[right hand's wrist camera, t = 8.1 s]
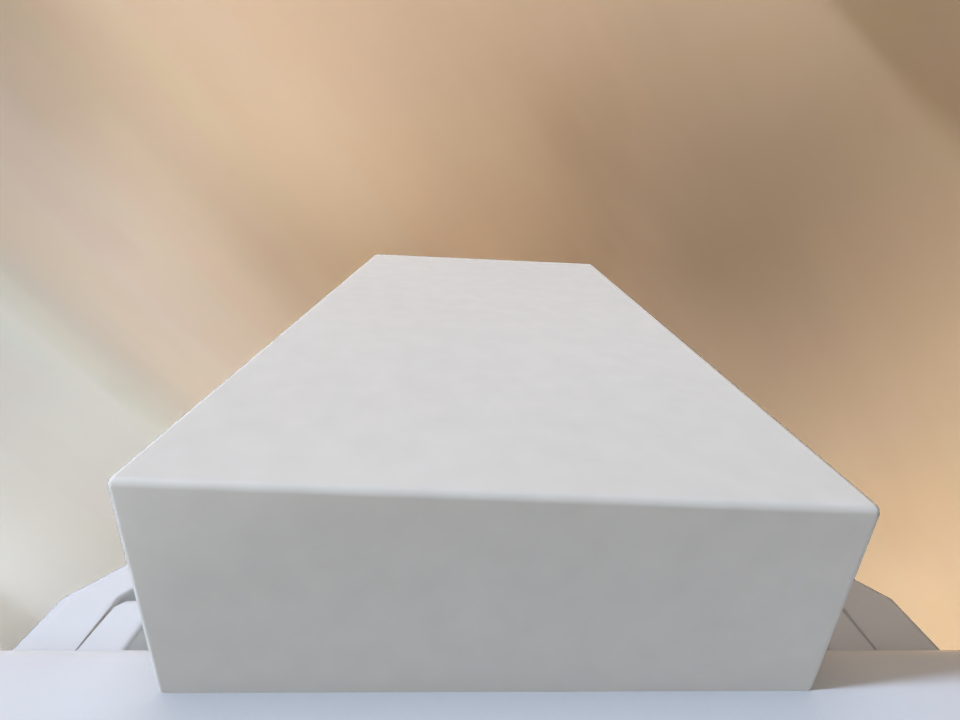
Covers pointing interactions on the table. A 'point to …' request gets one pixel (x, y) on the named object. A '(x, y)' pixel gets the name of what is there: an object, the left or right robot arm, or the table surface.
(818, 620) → the box
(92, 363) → the table surface
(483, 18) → the table surface
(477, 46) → the table surface
